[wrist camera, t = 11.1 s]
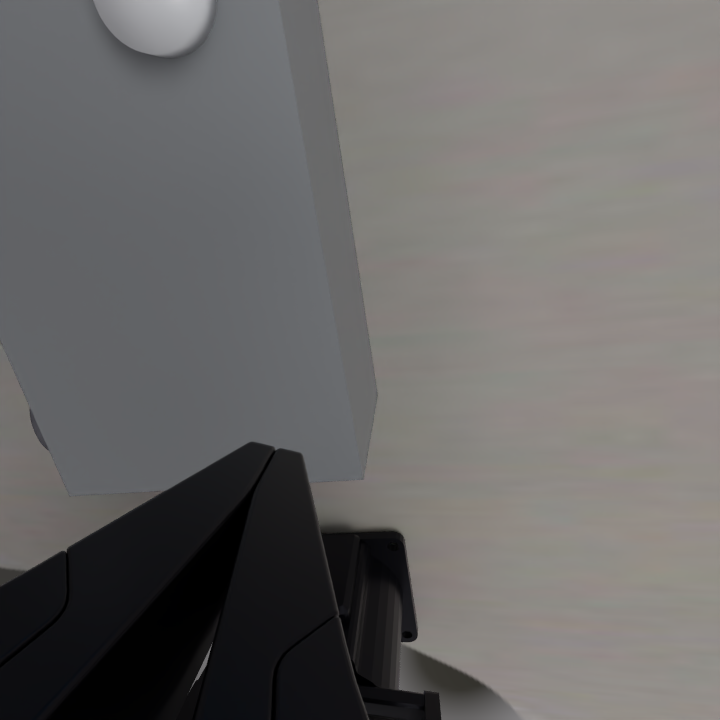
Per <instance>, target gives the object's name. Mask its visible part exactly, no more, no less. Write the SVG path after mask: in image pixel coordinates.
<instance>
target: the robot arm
mask: <svg viewBox="0 0 720 720" xmlns="http://www.w3.org/2000/svg"><path fill="white" fill-rule="evenodd" d="M391 542H394V543H397V544H396V545H392V544H390V543H391ZM417 635H418V626H417V620H416V613H415V606H414V599H413V593H412V586H411V579H410V572H409V566H408V559H407V552H406V545H405V539H404V537H403V536H402V535H401V534H400V533H397V532H370V533H346V534H321V532H320V527H319V523H318V518H317V514H316V510H315V505H314V501H313V496H312V492H311V487H310V483H309V479H308V474H307V470H306V465H305V461H304V457H303V455H302V453H300V452H296V451H292V450H288V449H283V448H279V449H277V450H276V449H275V447H274V446H271V445H266V444H262V443H258V442H253V441H252V442H249V443H247V444H245V445H243V446H242V447H240V448H238V449H236V450H235V451H233V452H231V453H229V454H228V455H226V456H224V457H223V458H221V459H219V460H217V461H216V462H214V463H212V464H211V465H209V466H207V467H205V468H204V469H202V470H200V471H199V472H197V473H195V474H193V475H192V476H190V477H188V478H187V479H185V480H183V481H181V482H180V483H178V484H176V485H175V486H173V487H171V488H169V489H168V490H166V491H164V492H163V493H161V494H159V495H157V496H156V497H154V498H152V499H150V500H149V501H147V502H145V503H144V504H142V505H140V506H138V507H137V508H135V509H133V510H132V511H130V512H128V513H126V514H125V515H123V516H121V517H120V518H118V519H116V520H114V521H113V522H111V523H109V524H108V525H106V526H104V527H102V528H101V529H99V530H97V531H96V532H94V533H92V534H90V535H89V536H87V537H85V538H84V539H82V540H80V541H78V542H77V543H75V544H73V545H71V546H70V547H68V549H67V553H66V552H65V551H61V552H59V553H57V554H56V555H54V556H52V557H50V558H49V559H47V560H45V561H44V562H42V563H40V564H38V565H37V566H35V567H33V568H31V569H30V570H28V571H26V572H24V573H22V574H21V575H19V576H17V577H15V578H13V579H11V580H10V581H8V582H6V583H4V584H2V585H1V586H0V720H441V712H440V700H439V693H437V692H430V691H424V693H416V692H409V691H402V690H399V677H400V655H401V654H400V653H401V642H412V641H414V640H416V638H417ZM212 642H213V643H212ZM211 644H212V647H211ZM210 647H211V651H210V655H209V658H208V662H207V666H206V667H205V669H204V671H203V672H202V674H201V676H200V678H199V679H198V680H196V682H195V683H194V685H193V687H192V688H191V686H192V684H193V682H194V680H195V678H196V676H197V674H198V672H199V670H200V668H201V665H202V663H203V661H204V659H205V657H206V655H207V653H208V651H209V649H210ZM190 688H191V690H190ZM189 691H190V692H189Z"/></svg>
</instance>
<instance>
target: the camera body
mask: <svg viewBox="0 0 720 720" xmlns="http://www.w3.org/2000/svg"><path fill="white" fill-rule="evenodd" d="M0 341H1V343H2V346H3V348H4V350H5V352H6V355H7V357H8V359H9V361H10V364H11V366H12V368H13V370H14V373H15V375H16V377H17V379H18V382H19V384H20V386H21V388H22V391H23V393H24V395H25V397H26V400H27V402H28V404H29V406H30V417H31V422H32V426H33V429H34V431H35V434H36V436H37V438H38V439H39V441H40V442H41V444H42V445H43V446H44V447H45V448H46V449H47V450H49V451H50V453H51V456H52V458H53V460H54V462H55V465H56V467H57V469H58V471H59V474H60V476H61V478H62V480H63V483H64V485H65V487H66V489H67V492H68V494H69V496H81V495H99V494H116V493H134V492H152V491H166V490H168V489H169V488H171V487H173V486H175V485H176V484H178V483H180V482H181V481H183V480H185V479H187V478H188V477H190V476H192V475H193V474H195V473H197V472H199V471H200V470H202V469H204V468H205V467H207V466H209V465H211V464H212V463H214V462H216V461H217V460H219V459H221V458H223V457H224V456H226V455H228V454H229V453H231V452H233V451H235V450H236V449H238V448H240V447H242V446H243V445H245V444H247V443H249V442H252V441H253V442H258V443H262V444H266V445H271V446H274V447H275V449H276V450H277V449H279V448H283V449H288V450H292V451H296V452H300V453H302V455H303V457H304V461H305V465H306V470H307V474H308V479H309V483H311V482H329V481H347V480H363V479H364V473H365V467H366V461H367V455H368V449H369V443H370V437H371V432H372V426H373V420H374V414H375V408H376V402H377V396H378V394H377V388H376V381H375V375H374V368H373V361H372V355H371V348H370V342H369V335H368V329H367V322H366V316H365V309H364V303H363V296H362V289H361V283H360V276H359V270H358V263H357V257H356V250H355V244H354V237H353V231H352V224H351V217H350V211H349V204H348V198H347V191H346V185H345V178H344V172H343V165H342V159H341V152H340V145H339V139H338V132H337V126H336V119H335V113H334V106H333V100H332V93H331V87H330V80H329V73H328V67H327V60H326V54H325V47H324V41H323V34H322V28H321V21H320V15H319V8H318V1H317V0H0Z"/></svg>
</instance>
